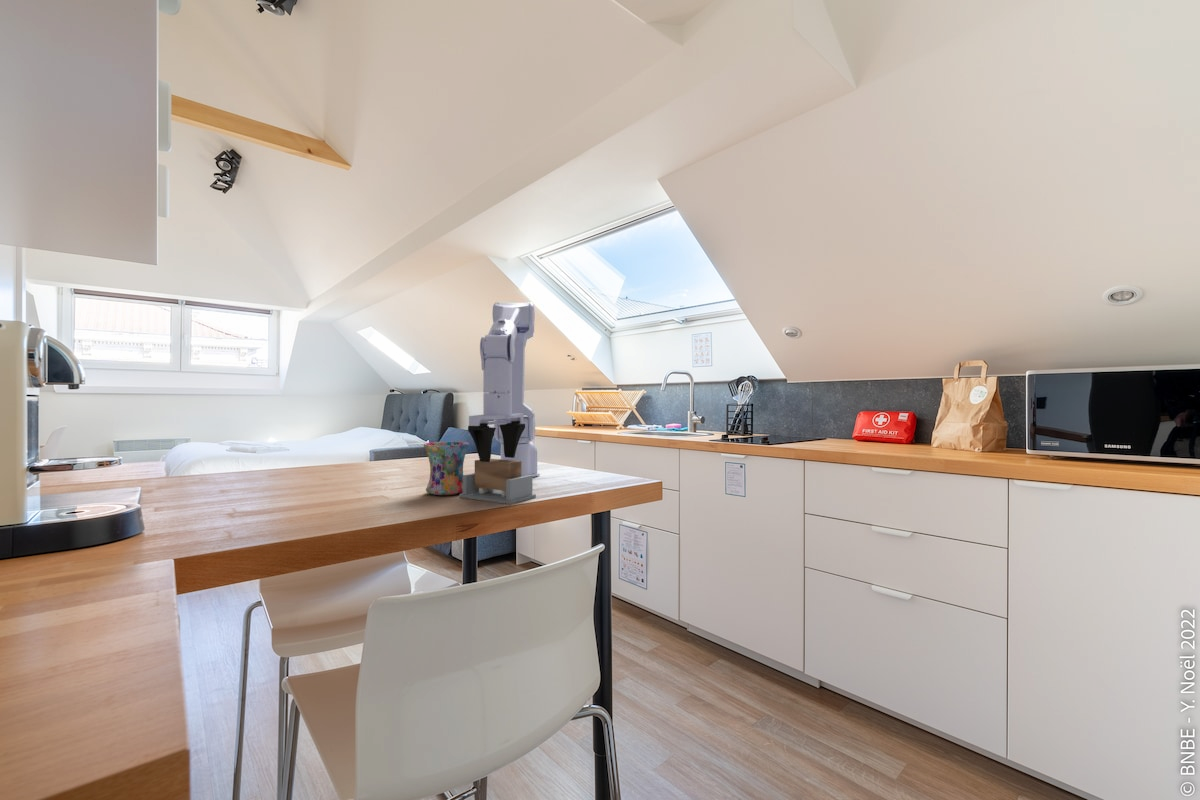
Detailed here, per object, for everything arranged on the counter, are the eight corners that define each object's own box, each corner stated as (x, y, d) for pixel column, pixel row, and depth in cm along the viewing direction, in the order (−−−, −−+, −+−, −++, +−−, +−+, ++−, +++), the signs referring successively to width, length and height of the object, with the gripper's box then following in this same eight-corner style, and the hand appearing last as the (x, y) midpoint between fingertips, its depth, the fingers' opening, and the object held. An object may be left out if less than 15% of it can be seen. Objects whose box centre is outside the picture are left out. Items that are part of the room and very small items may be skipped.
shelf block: (487, 484, 110) (487, 458, 110) (521, 488, 105) (521, 461, 105) (474, 487, 106) (474, 460, 106) (508, 491, 102) (508, 463, 102)
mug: (463, 497, 106) (463, 445, 105) (417, 497, 105) (417, 445, 105) (475, 487, 118) (475, 440, 117) (434, 487, 117) (434, 440, 117)
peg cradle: (486, 490, 113) (486, 470, 113) (535, 497, 106) (535, 475, 106) (459, 497, 106) (459, 475, 106) (510, 504, 99) (510, 480, 99)
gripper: (488, 393, 97) (488, 465, 97) (534, 393, 110) (534, 456, 110) (460, 393, 101) (460, 462, 101) (509, 393, 113) (509, 454, 114)
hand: (497, 459), depth 106 cm, fingers open, 7 cm apart
